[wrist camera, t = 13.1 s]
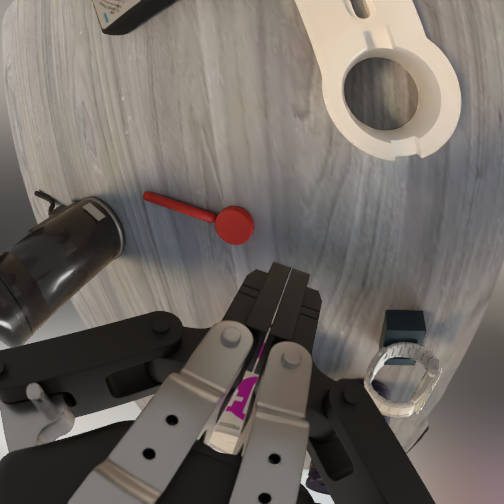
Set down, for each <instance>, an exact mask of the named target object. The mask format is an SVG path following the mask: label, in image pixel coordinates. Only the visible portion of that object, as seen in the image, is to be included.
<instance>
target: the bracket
mask: <svg viewBox="0 0 504 504" xmlns="http://www.w3.org/2000/svg"><path fill="white" fill-rule="evenodd" d="M362 1H363V4H364V6H365V9H366V11H367V13H368V16H369V17H368V18H366V19H361V18H359V17H357V16H356V14H355V12H354V10H353V7H352V5H351V2H350V0H295V2H296V4H297V7H298V9H299V12H300V14H301V17H302V19H303V22H304V25H305V27H306V30H307V33H308V35H309V38H310V41H311V44H312V46H313V49H314V52H315V55H316V58H317V61H318V64H319V67H320V70H321V73H322V91H323V98H324V101H325V105H326V108H327V110H328V113H329V115H330V117H331V119H332V121H333V122H334V124H335V125H336V127H337V128H338V129H339V131H340V132H341V133H342V134H343V135H344V136H345V137H346V138H347V139H348V140H349V141H350V142H351V143H352V144H353V145H355V146H356V147H358V148H359V149H361V150H362V151H364V152H366V153H368V154H370V155H372V156H375V157H377V158H381V159H384V160H389V161H395V157H401V156H409V155H414V154H418V155H419V156H420V157H421V158H424V157H426V156H428V155H430V154H432V153H434V152H435V151H437V150H438V149H439V148H441V147H442V146H443V145H444V144H445V143H446V142H447V141H448V139H449V138H450V137H451V135H452V134H453V132H454V130H455V128H456V126H457V123H458V120H459V116H460V111H461V92H460V88H459V83H458V79H457V76H456V74H455V71H454V69H453V67H452V65H451V64H450V62H449V61H448V59H447V58H446V56H445V55H444V54H443V52H442V51H441V50H440V49H439V48H438V47H437V46H436V45H435V44H434V43H432V42H431V41H430V40H429V39H427V38H426V36H425V33H424V30H423V27H422V24H421V21H420V19H419V16H418V14H417V11H416V8H415V6H414V4H413V1H412V0H362ZM374 57H380V58H386V59H389V60H392V61H394V62H396V63H398V64H400V65H401V66H402V67H404V68H405V69H406V70H407V71H408V72H409V74H410V75H411V76H412V78H413V80H414V82H415V84H416V87H417V90H418V106H417V109H416V112H415V114H414V116H413V117H412V118H411V120H410V121H409V122H408V123H406V124H405V125H403V126H402V127H400V128H397V129H394V130H378V129H374V128H371V127H369V126H367V125H365V124H363V123H362V122H360V121H359V120H358V119H357V118H356V117H355V116H354V115H353V114H352V112H351V111H350V109H349V107H348V105H347V103H346V100H345V96H344V83H345V79H346V77H347V74H348V73H349V71H350V70H351V68H352V67H353V66H354V65H356V64H357V63H358V62H360V61H362V60H364V59H368V58H374Z"/></svg>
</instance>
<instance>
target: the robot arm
mask: <svg viewBox="0 0 504 504" xmlns="http://www.w3.org/2000/svg"><path fill="white" fill-rule="evenodd" d="M35 195H36V196H38V197H40V198H43V199H45V200H47V201H49V202H50V204H51V205H50V207H49V213H48V215H49V218H48V219H46V220H44V221H43V222H41V223H40V224H38V225H37V226H35V227H34V228H32V229H31V230H29V231H28V233H27V236H26V237H24V238H23V239H21V240H20V241H19V242H17V243H16V244H14V245H13V246H11V247H10V248H9V249H7V250H6V251H5V252H3V253H2V254H1V255H0V340H1V341H2V342H3V343H4V344H6V345H7V346H9V347H10V348H9V349H5V350H0V410H1V416H2V422H3V427H4V433H5V437H6V442H7V446H8V450H9V453H8V454H7V455H6V456H4V457H3V458H2V459H1V461H0V504H315V502H314V500H313V498H312V497H311V495H310V494H309V492H308V491H307V489H306V488H305V487H304V486H303V485H302V484H301V483H300V482H301V476H302V471H303V466H304V460H305V455H306V449H307V451H308V453H309V455H310V457H311V459H312V461H313V463H314V465H315V467H316V469H317V471H318V473H319V475H320V476H321V478H322V480H323V482H324V484H325V486H326V488H327V490H328V492H329V494H330V496H331V498H332V499H333V501H334V503H335V504H435V502H434V500H433V499H432V497H431V495H430V493H429V492H428V490H427V488H426V487H425V485H424V483H423V481H422V480H421V478H420V476H419V475H418V473H417V471H416V470H415V468H414V467H413V465H412V463H411V461H410V460H409V458H408V456H407V455H406V453H405V451H404V450H403V448H402V446H401V445H400V443H399V441H398V440H397V438H396V436H395V435H394V433H393V432H392V430H391V428H390V427H389V425H388V423H387V422H386V420H385V419H384V417H383V415H382V414H381V412H380V410H379V409H378V407H377V406H376V404H375V402H374V401H373V399H372V398H371V396H370V394H369V393H368V391H367V390H366V388H365V387H364V386H363V385H362V384H360V383H359V382H357V381H355V380H352V379H340V380H338V381H336V382H335V381H334V380H332V379H331V378H329V377H328V376H326V375H325V374H323V373H322V372H321V371H320V370H319V369H318V368H317V367H316V365H315V364H314V362H313V359H312V348H313V343H314V338H315V334H316V329H317V324H318V319H319V314H320V313H319V312H320V309H321V303H322V300H321V297H320V294H319V291H317V290H314V289H311V288H309V287H307V284H308V281H309V277H310V274H308V273H305V272H302V271H299V270H296V269H293V268H292V271H291V274H290V277H289V280H288V283H287V285H286V288H285V291H284V294H283V296H282V299H281V302H280V305H279V307H278V310H277V313H276V316H275V318H274V321H273V324H272V326H271V329H270V332H269V334H268V337H267V340H266V342H265V345H264V348H263V350H262V353H261V356H260V358H259V361H258V363H257V366H256V368H255V371H254V373H255V374H258V375H259V376H258V379H257V382H256V384H255V387H254V389H253V391H252V394H251V397H250V401H249V404H248V407H247V411H246V414H245V418H244V421H243V424H242V428H241V431H240V434H239V437H238V440H237V443H236V445H235V448H234V451H233V453H232V454H226V453H220V452H217V451H215V450H214V449H212V448H211V447H209V446H208V445H207V444H208V443H209V441H210V439H211V437H212V434H213V432H214V430H215V428H216V426H217V425H218V423H219V421H220V419H221V417H222V416H223V414H224V412H225V410H226V408H227V407H228V405H229V403H230V401H231V399H232V397H233V396H234V394H235V392H236V390H237V388H238V386H239V385H240V384H241V382H242V380H243V378H244V375H245V373H246V371H249V372H252V371H253V368H254V366H255V363H256V361H257V358H258V356H259V353H260V351H261V348H262V345H263V343H264V340H265V338H266V335H267V332H268V330H269V327H270V324H271V322H272V319H273V316H274V314H275V311H276V308H277V306H278V303H279V300H280V297H281V295H282V292H283V289H284V286H285V283H286V281H287V278H288V275H289V272H290V269H291V268H290V267H288V266H285V265H282V264H279V263H276V262H273V264H272V266H271V268H270V270H269V272H268V273H266V272H263V271H260V270H257V269H256V270H255V271H253V272H251V273H250V274H248V275H247V276H246V278H245V280H244V282H243V284H242V285H241V287H240V289H239V291H238V293H237V294H236V296H235V298H234V300H233V302H232V303H231V305H230V307H229V309H228V311H227V312H226V314H225V316H224V318H223V319H222V321H221V322H218V323H216V324H214V325H213V326H212V327H210V328H206V329H197V328H189V327H183V325H182V323H181V321H180V319H179V318H178V317H177V316H175V315H174V314H172V313H169V312H165V311H155V312H151V313H147V314H144V315H140V316H136V317H133V318H129V319H125V320H121V321H118V322H114V323H110V324H106V325H103V326H99V327H95V328H91V329H87V330H84V331H79V332H75V333H72V334H68V335H64V336H60V337H56V338H51V339H47V340H43V341H39V342H35V343H31V344H27V345H23V344H24V343H25V342H26V341H27V340H28V339H29V338H30V337H31V336H32V335H33V334H34V333H35V332H36V331H37V330H38V329H39V328H40V327H41V326H42V325H43V324H44V323H45V322H46V321H47V320H48V319H49V318H50V317H51V316H52V315H53V314H54V313H55V312H56V311H57V310H58V309H59V308H61V307H62V306H63V305H64V304H65V303H66V302H67V301H68V300H69V299H70V298H71V297H72V296H73V295H74V294H76V293H77V292H78V291H79V290H80V289H81V288H82V287H83V286H84V285H85V284H86V283H88V282H89V281H90V280H91V279H92V278H93V277H94V276H95V275H97V274H98V273H99V272H100V271H101V270H102V269H103V268H105V267H106V266H107V265H108V264H109V263H110V262H111V261H113V260H115V259H116V258H117V257H119V256H120V255H121V253H122V252H123V249H124V244H125V240H124V233H123V229H122V226H121V224H120V222H119V220H118V218H117V216H116V215H115V213H114V212H113V210H112V209H111V208H110V207H109V206H108V205H107V204H106V203H104V202H103V201H102V200H100V199H98V198H94V197H88V198H85V199H83V200H82V201H80V202H79V201H76V202H74V203H72V204H71V205H69V206H64V205H61V206H59V207H57V208H56V209H54V207H55V202H54V200H53V199H52V198H51V197H50V196H48V195H46V194H43V193H40V192H38V191H35ZM53 209H54V210H53ZM152 394H154V396H153V397H152V398H151V400H150V401H149V402H148V404H147V405H146V407H145V408H144V409H143V411H142V412H141V413H140V415H139V416H138V417H137V419H136V420H129V421H121V422H117V423H113V424H110V425H107V426H104V427H101V428H98V429H95V430H91V431H88V432H85V433H82V434H78V435H75V436H72V437H68V438H64V439H61V440H57V441H55V440H56V439H57V438H58V437H60V436H63V435H65V434H67V433H68V432H69V431H70V430H71V429H72V427H73V425H74V421H75V417H79V416H83V415H87V414H91V413H94V412H98V411H101V410H104V409H108V408H111V407H115V406H118V405H122V404H125V403H128V402H131V401H134V400H137V399H140V398H143V397H146V396H149V395H152Z"/></svg>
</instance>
